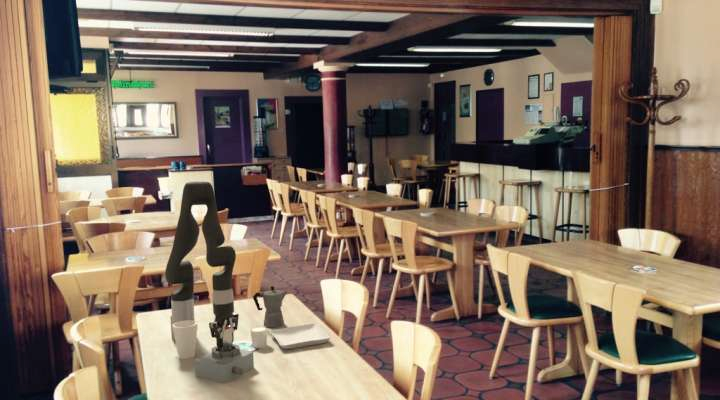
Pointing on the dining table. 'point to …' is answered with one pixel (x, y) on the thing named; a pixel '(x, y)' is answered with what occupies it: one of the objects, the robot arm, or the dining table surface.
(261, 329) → the cream short cylinder
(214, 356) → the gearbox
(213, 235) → the robot arm
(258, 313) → the dining table surface
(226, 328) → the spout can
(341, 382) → the dining table surface
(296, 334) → the salad plate
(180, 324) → the foam cup
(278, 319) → the coffeepot
